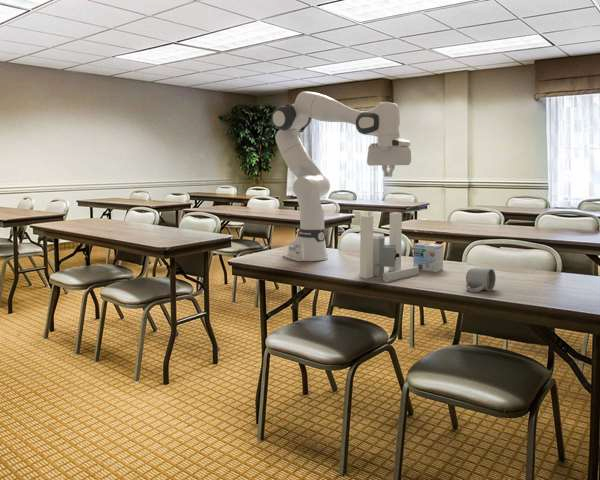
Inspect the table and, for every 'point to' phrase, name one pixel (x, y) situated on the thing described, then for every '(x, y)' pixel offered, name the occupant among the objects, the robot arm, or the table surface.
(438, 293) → the table surface
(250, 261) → the table surface
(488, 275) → the ceramic mug
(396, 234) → the post
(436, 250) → the light bulb box
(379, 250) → the circuit breaker
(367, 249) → the post
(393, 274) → the bar
